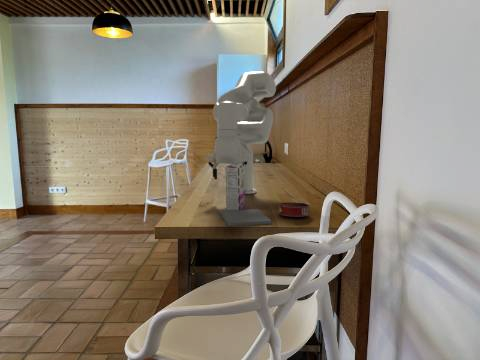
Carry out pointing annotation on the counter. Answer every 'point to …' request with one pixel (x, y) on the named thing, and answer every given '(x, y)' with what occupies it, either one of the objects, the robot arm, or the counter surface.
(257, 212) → the mat
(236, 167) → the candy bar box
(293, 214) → the canned food
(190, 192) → the counter surface
